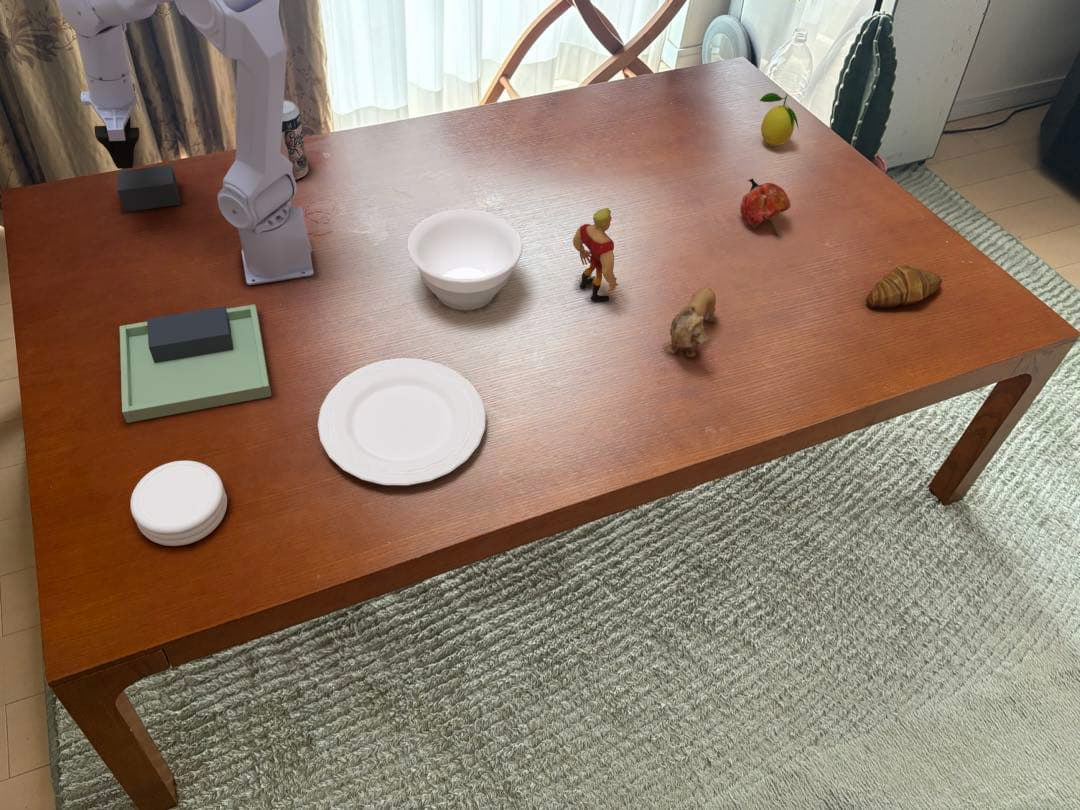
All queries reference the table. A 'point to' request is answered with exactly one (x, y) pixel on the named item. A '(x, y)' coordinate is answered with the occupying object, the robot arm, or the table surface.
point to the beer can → (293, 139)
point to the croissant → (903, 287)
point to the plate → (401, 422)
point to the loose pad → (147, 188)
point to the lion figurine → (692, 322)
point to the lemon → (777, 121)
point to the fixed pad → (189, 334)
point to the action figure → (597, 253)
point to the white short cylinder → (178, 503)
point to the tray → (193, 372)
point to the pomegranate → (763, 203)
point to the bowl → (464, 255)
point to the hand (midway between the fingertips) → (123, 149)
